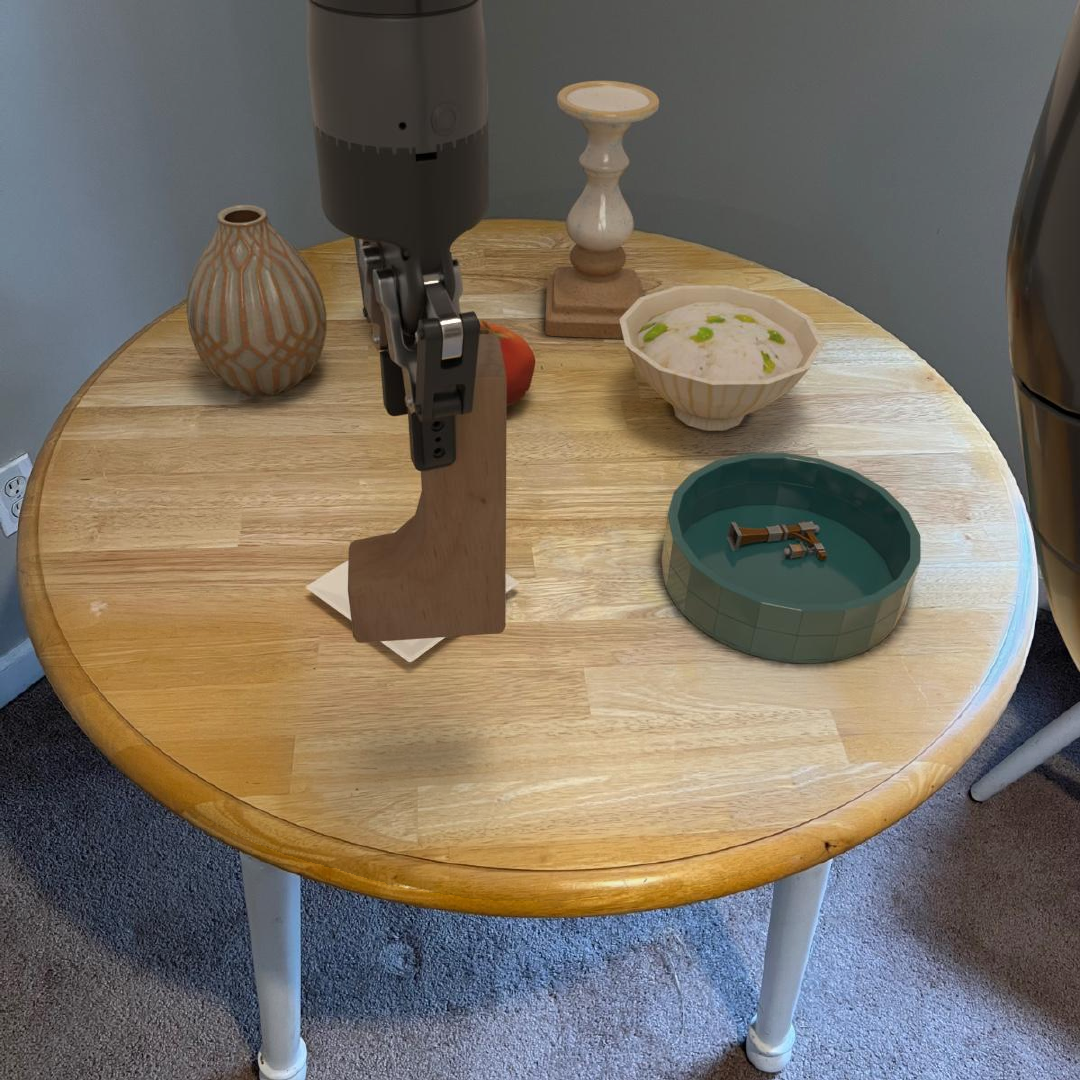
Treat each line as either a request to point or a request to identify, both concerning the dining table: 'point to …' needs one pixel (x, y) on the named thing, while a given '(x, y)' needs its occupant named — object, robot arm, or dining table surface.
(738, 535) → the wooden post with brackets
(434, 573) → the wooden block
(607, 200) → the candle holder
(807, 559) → the teal bowl
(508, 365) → the tomato
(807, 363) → the bowl
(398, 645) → the dessert
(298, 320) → the vase
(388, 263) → the robot arm
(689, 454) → the dining table surface
